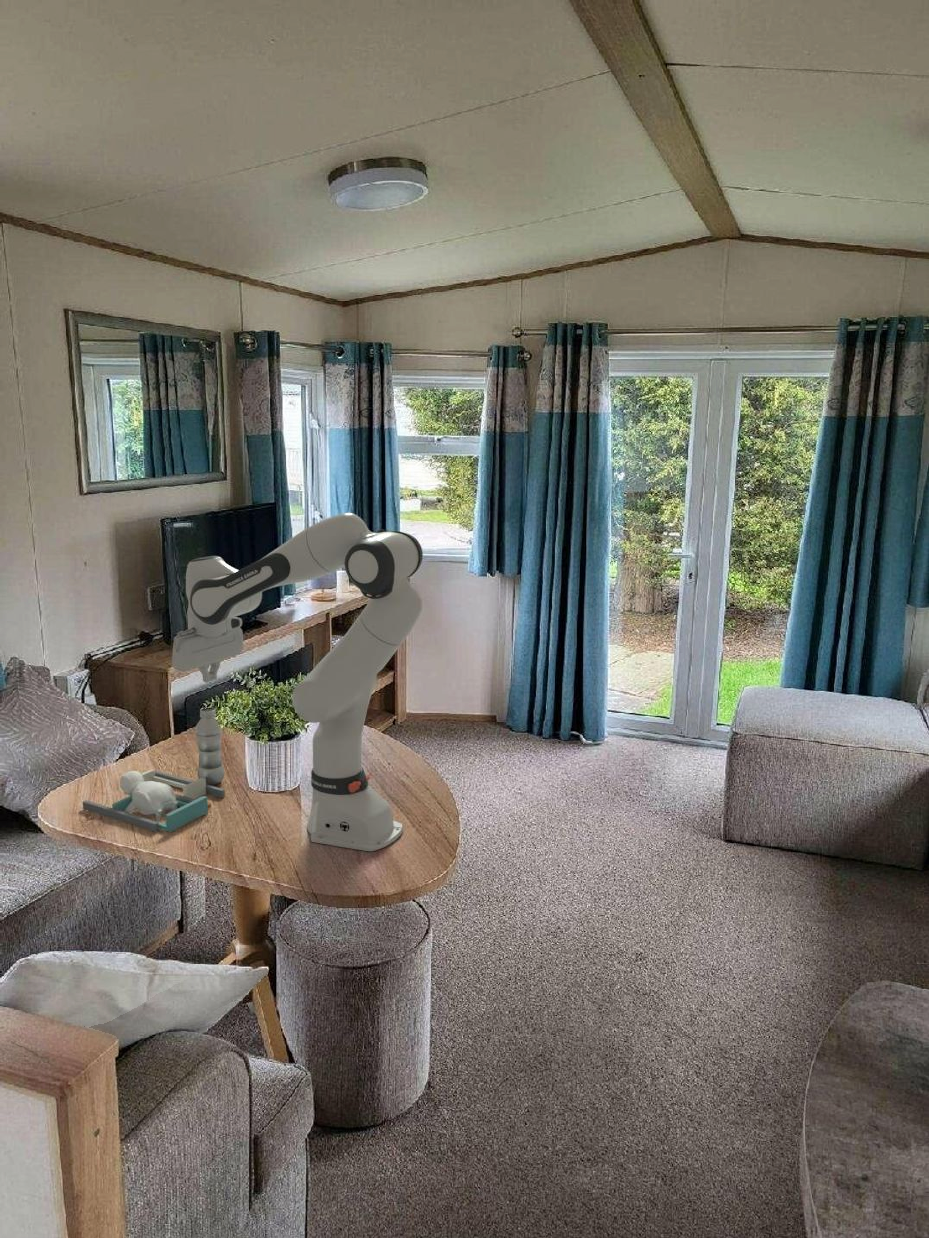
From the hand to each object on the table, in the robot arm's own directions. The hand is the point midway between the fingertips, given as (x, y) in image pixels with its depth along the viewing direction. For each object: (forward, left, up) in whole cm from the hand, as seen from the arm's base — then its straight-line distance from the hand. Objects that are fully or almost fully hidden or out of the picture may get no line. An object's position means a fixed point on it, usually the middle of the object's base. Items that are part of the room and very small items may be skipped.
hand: (209, 680), depth 207 cm
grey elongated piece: (+14, +1, -31) cm, 34 cm away
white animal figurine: (+11, +12, -32) cm, 35 cm away
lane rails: (+12, +8, -31) cm, 34 cm away
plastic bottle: (+9, -8, -31) cm, 34 cm away
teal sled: (+6, +12, -31) cm, 34 cm away
